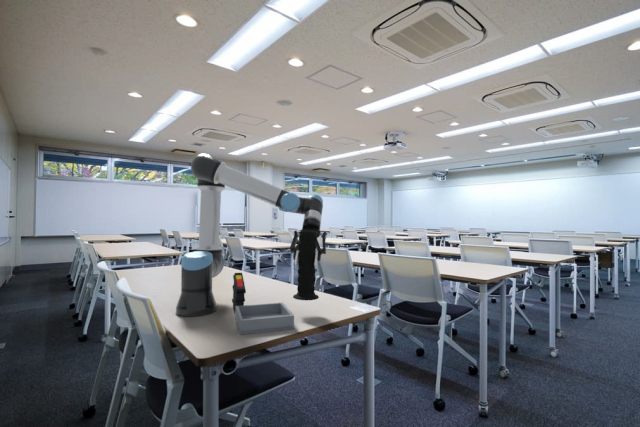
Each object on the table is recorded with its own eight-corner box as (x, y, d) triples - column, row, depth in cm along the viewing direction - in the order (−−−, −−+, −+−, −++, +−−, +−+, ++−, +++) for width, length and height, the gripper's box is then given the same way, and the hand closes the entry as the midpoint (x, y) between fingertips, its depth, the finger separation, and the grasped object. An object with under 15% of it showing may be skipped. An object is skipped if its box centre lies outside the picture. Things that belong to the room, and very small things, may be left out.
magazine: (240, 300, 139) (242, 272, 133) (243, 322, 128) (246, 291, 122) (231, 301, 137) (233, 272, 132) (234, 323, 126) (236, 292, 120)
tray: (239, 334, 103) (240, 320, 103) (235, 318, 120) (235, 306, 120) (293, 328, 109) (294, 315, 109) (282, 313, 126) (282, 302, 126)
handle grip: (317, 301, 119) (320, 294, 129) (319, 230, 119) (321, 229, 129) (290, 299, 120) (295, 293, 130) (293, 229, 120) (297, 228, 130)
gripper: (335, 229, 139) (331, 273, 122) (290, 228, 141) (281, 271, 124) (334, 217, 134) (331, 261, 117) (288, 216, 136) (278, 259, 119)
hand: (305, 266), depth 121 cm, fingers closed on handle grip, 7 cm apart
